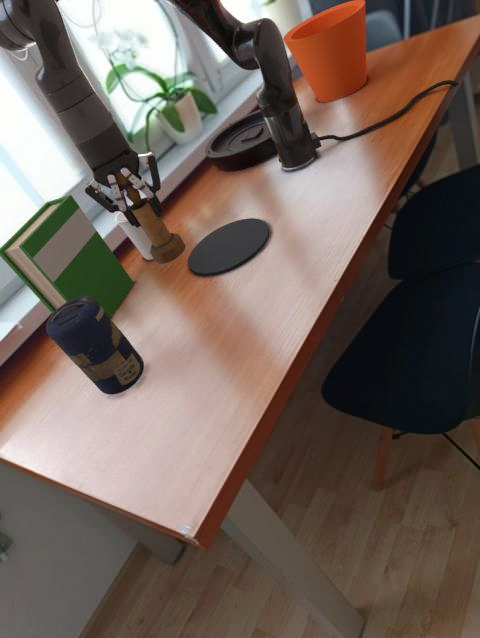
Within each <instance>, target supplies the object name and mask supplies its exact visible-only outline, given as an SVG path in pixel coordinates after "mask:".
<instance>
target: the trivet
mask: <svg viewBox="0 0 480 638" xmlns="http://www.w3.org/2000/svg"><path fill="white" fill-rule="evenodd" d="M269 227H270V226H268V223H266V221H264V220H262V219H260V218H252V217H251V218H242V219H238V220H234V221H232V222H229V223H226V224H224V225H222V226H220V227H218V228H216V229H215V230H213V231H211V232H210V233H208V234H207V235H205V236H204V237H203V238H202V239H201V240H200V241H198V243H196V245H195V246H194V248H193V249H192V250H191V252H190V254H189V255H188V259H187V264H188V267H189V269H190V271H191V272H192V273H194V274H195V275H198V276H202V277H213V276H219V275H223V274H227V273H229V272H231V271H233V270H235V269H237V268H240V267H241V266H243V265H244V264H246V263H247V262H249V261H251V260H252V259H253V258H255V257H256V256H257V255H258V253H260V252H261V251H262V250H263V249H264V247H265V246H266V244H268V241H269V238H270V235H271V234H270V233H271V232H270V231H271V230H270V228H269Z"/></svg>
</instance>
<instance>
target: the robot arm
mask: <svg viewBox="0 0 480 638" xmlns="http://www.w3.org/2000/svg"><path fill="white" fill-rule="evenodd" d="M60 1H61V0H0V48H1V49H4V50H6V51H9V52H14V53H17V52H22V51H26V50H28V49H29V48H31V47H33V46H37V49H38V53H39V55H40V58H41V59H40V60H41V64H40V65H39V66H38V67H37V69H36V70H35V71H34V74H33V79H34V82H35V85H36V87H37V89H38V90H39V92H40V93H41V94H42V95H43V97H44V99H45V100H46V102H47V103H48V104H49V107H51V109H52V111H53V112H54V113H55V115H56V117H57V119H58V121H59V122H60V124H61V127H62V128H63V130H64V131H65V133H66V135H67V136H68V137H69V139H70V140H71V142H72V143H73V145H74V147H75V148H76V149H77V151H78V153H79V154H80V155H81V157H82V158H83V160H84V161H85V163H86V164H87V166H88V168H90V170H91V172H92V177H93V179H92V180H91V181H90V182H87V183H86V185H85V188H84V193H85V194H86V195H87V196H89V197H90V198H91V199H92V200H93V201H95V202H96V203H97V204H99V205H100V206H101V207H102V208H104V209H105V210H106V211H108V212H109V213H110V214H114V213H115V212H122V213H123V214H124V215H125V217H126V218H127V220H128V221H129V223H130V224H131V225H132V226H136V228H138V227H140V226H141V225H140V224H139V222H138V221H137V219H136V218H135V216H134V215H133V213H132V212H131V210H130V207H131V206H130V205H129V204H128V201H127V198H126V195H125V188H126V187H129V186H133V187H135V188H137V189H138V191H140V192H142V193H143V195H145V196H146V198H148V201H149V203H150V204H151V206H152V208H153V209H154V211H155V212H156V214H157V216H158V217H160V218H161V217H163V213H164V207H163V204H162V202H161V200H160V198H159V197H158V195H157V194H156V193H157V192H158V191H161V188H162V186H161V183H162V182H161V177H160V172H159V168H158V163H157V157H156V153H155V152H154V151H153V150H150V151H148V152H147V153H142V154H141V153H140V154H139V153H137V151H136V150H133V148H131V145H130V144H129V142H128V141H127V139H126V138H125V137H126V136H124V133H123V132H122V131H121V129H120V127H119V125H118V124H117V123H116V121H115V119H114V117H113V115H112V112H111V111H110V110H109V109H108V106H107V105H106V104H105V103H104V101H103V100H102V98H101V97H100V96H99V94H98V93H97V92H96V90H95V89H94V88H95V87H94V86H93V85H92V84H91V82H90V80H89V78H88V77H87V75H86V74H85V72H84V70H83V69H82V67H81V66H80V63H79V60H78V58H77V55H76V53H75V49H74V47H73V44H72V40H71V37H70V35H69V32H68V29H67V25H66V23H65V20H64V17H63V14H62V12H61V10H60V7H59V5H58V3H59V2H60ZM164 1H165V2H166V3H167V4H168V5H170V6H171V7H172V8H173V9H175V10H176V11H177V12H179V13H180V14H181V15H182V16H184V17H185V18H187V20H189V21H190V22H191V23H192V24H194V26H196V27H197V28H198V29H199V30H200V31H202V33H204V34H205V36H207V37H208V38H209V39H210V40H212V41H213V42H214V43H215V44H216V45H217V46H218V47H219V49H221V51H222V52H223V53H224V54H225V55H226V56H227V57H228V58H229V59H230V60H231V61H232V62H233V63H234V64H235V65H237V67H239V68H241V69H242V70H244V71H257V70H260V74H261V77H262V83H261V84H260V85H259V86H258V87H257V88H256V90H255V92H254V95H255V99H256V102H257V104H258V107H259V110H261V112H262V115H263V117H264V120H265V123H266V125H267V128H268V130H269V133H270V136H271V138H272V141H273V143H274V146H275V149H276V151H277V154H276V155H277V156H278V158H277V159H278V162H279V163H280V164H281V168H282V170H283V171H286V172H294V171H297V170H300V169H303V168H305V167H306V166H308V165H309V164H311V163H313V161H315V160H316V159H318V158H319V154H318V152H317V150H318V149H319V148H322V143H321V141H325V140H335V141H337V142H342V141H348V140H351V139H354V138H357V137H359V136H361V135H363V134H365V133H367V132H370V131H372V130H375V129H376V128H379V127H381V126H383V125H385V124H388V123H389V122H391V121H392V120H394V119H396V118H398V117H400V116H401V115H402V114H404V113H405V112H406V111H408V110H409V109H410V108H411V106H413V104H414V103H415V102H416V101H417V100H418V99H419V98H422V97H423V96H425V95H427V94H428V93H430V92H432V91H433V90H435V89H438V88H439V87H442V86H445V85H451V86H453V87H457V86H459V85H460V83H459V82H458V81H456V80H452V79H446V80H441V81H439V82H436V83H434V84H433V85H431V86H429V87H428V88H425V89H424V90H422V91H420V92H419V93H417V94H416V95H414V97H412V98H411V99H410V100H409V101H408V102H407V104H406V105H405V106H403V107H402V108H401V109H400V110H399V111H396V112H395V113H394V114H392V115H389V116H388V117H386V118H384V119H382V120H380V121H378V122H375V123H373V124H372V125H369V126H367V127H365V128H363V129H361V130H359V131H357V132H354V133H352V134H348V135H343V136H338V135H335V134H326V135H322V136H318V134H317V132H315V131H313V132H311V130H310V127H309V124H308V122H307V120H306V119H305V117H304V114H303V111H302V108H301V104H300V102H299V99H298V96H297V93H296V90H295V87H294V83H293V73H292V66H291V63H290V59H289V57H288V52H287V49H286V44H285V42H284V40H283V38H284V37H283V35H282V33H281V31H280V28H279V27H278V25H277V24H276V22H275V21H274V20H273V19H271V18H268V17H262V18H261V17H260V18H259V19H255V20H252V21H248V22H246V23H245V22H242V21H241V20H239V19H237V17H235V16H234V15H233V14H232V13H231V12H230V11H229V10H228V9H227V8H226V7H225V6H224V4H223V3H222V0H164ZM141 163H142V164H143V165H144V167H145V168H146V169H149V172H150V177H151V178H150V179H151V181H152V183H151V184H150V183H149V182H148V181H147V180H146V179H145V177H144V176H143V175H142V174H141V173H140V164H141ZM119 172H121V173H122V174H123V175H124V176H125V177H126V178H127V179H128V180H127V183H126V185H121V184H118V182H117V180H116V174H117V173H119ZM101 185H102V186H104V187H106V188H108V189H111V191H112V195H113V196H114V200H115V201H114V200H113V199H112V198H111V197H109V196H108V195H107V194H106V193H105V192H103V191H102V187H101Z"/></svg>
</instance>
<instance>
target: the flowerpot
mask: <svg viewBox="0 0 480 638" xmlns="http://www.w3.org/2000/svg"><path fill="white" fill-rule="evenodd" d="M366 18H367V17H366V0H350V1H346V2H343V3H340V4H337V5H335V6H332V7H330V8H327V9H325V10H323V11H320V12H319V13H316V14H314V15H312V16H310V17H309V18H307V19H305V20H303V21H302V22H300V23H298V24H297V25H296V26H294V27H292V29H290V30H288V32H286V33H285V35H284V36H283V37H282V38H283V42H284V44H285V46H286V47H287V49H288V51H289V53H290V54H291V56H292V57H293V59H294V61H295V63H296V65H297V66H298V68H299V70H300V72H301V73H302V75H303V77H304V78H305V80H306V82H307V83H308V85H309V87H310V89H311V91H312V92H313V95H314V96H315V98H316V99H317V101H318V102H321V103H327V102H333V101H337V100H340V99H343V98H345V97H347V96H349V95H351V94H353V93H355V92H357V91H359V90H360V89H361V88H363V86H364V85H365V84H366V83H367V79H368V76H367V72H368V71H367V25H366V24H367V23H366V22H367V21H366V20H367V19H366Z"/></svg>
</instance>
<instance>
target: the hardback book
mask: <svg viewBox="0 0 480 638" xmlns="http://www.w3.org/2000/svg"><path fill="white" fill-rule="evenodd" d="M0 258H1V259H2V260H3V261H4V262H5V263H6V265H8V266H9V267H10V268H11V270H12V271H13V273H15V274H16V275H17V277H18V278H20V280H21V281H22V282H23V283H24V284H25V285H26V286H27V287H28V288H29V290H30V291H31V292H32V293H33V294H34V295H35V296H36V297H37V298H38V300H40V302H41V303H42V304H43V305H44V306H45V307H46V308H47V310H49V312H50V313H51V315H52V314H53V313H54V312H55V311H56V310H57V309H58V308H59V307H60V306H62V305H63V304H65V303H66V302H68V301H70V300H72V299H74V298H76V297H80V296H90V297H93V298H94V299H95V300H96V301H97V302H98V303H99V305H100V306H101V307H102V308H103V310H104V311H105V312H106V314H107V315H108V316H109V317H110V319H111V317H113V315H114V313H115V312H116V310H117V309H118V308H119V306H120V304H121V303H122V301H123V300H124V298H125V297H126V296H127V294H128V293H129V291H130V290H131V288H132V287H133V285H134V284H135V282H134V280H133V279H132V278H131V276H130V275H129V273H128V271H126V269H125V268H124V266H123V265H122V263H121V262H120V261H119V259H118V258H117V256H116V255H115V254H114V252H113V251H112V250H111V248H110V247H109V245H108V244H107V242H106V241H105V240H104V238H103V237H102V235H101V234H100V233H99V231H97V229H96V227H95V226H94V225H93V223H92V222H91V221H90V219H89V218H88V216H87V215H86V214H85V212H84V211H83V209H82V208H81V207H80V205H79V204H78V202H77V201H76V199H75V198H74V197H73V195H72V194H69V195H66V196H62V197H59V198H55V199H52V200H48V201H46V202H45V203H44V204H43V205H42V206H41V207H40V208H39V209H38V210H37V211H36V212H35V213H34V214H33V215H32V216H31V217H30V218H29V219H28V220H27V221H26V222H25V223H24V224H23V225H22V226H21V227H20V228H19V229H18V230H17V231H16V232H15V233H14V234H13V235H12V236H11V237H10V238H9V239H8V240H7V241H6V242H5V243H4V244H3V245H1V246H0Z"/></svg>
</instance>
